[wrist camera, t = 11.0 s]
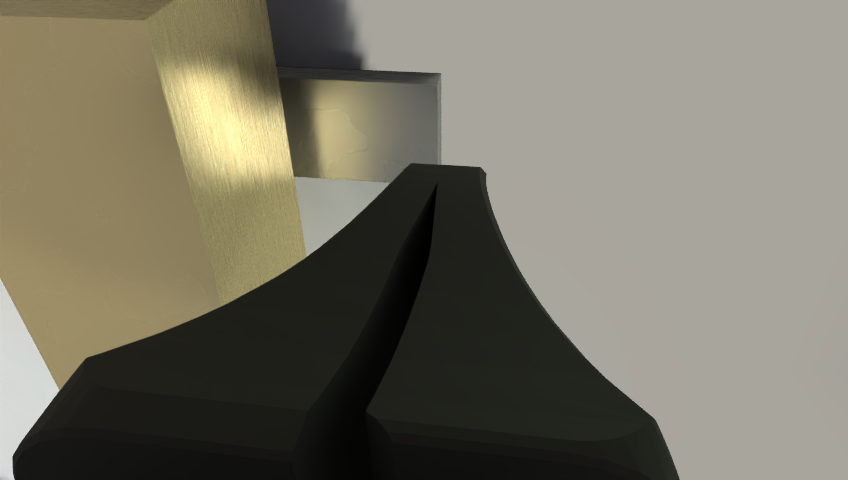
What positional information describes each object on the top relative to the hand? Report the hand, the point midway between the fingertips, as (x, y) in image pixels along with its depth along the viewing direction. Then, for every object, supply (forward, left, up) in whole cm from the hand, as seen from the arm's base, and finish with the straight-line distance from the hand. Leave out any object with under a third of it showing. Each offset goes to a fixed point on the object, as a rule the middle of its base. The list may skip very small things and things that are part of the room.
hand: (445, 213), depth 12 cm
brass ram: (0, +6, -2) cm, 6 cm away
